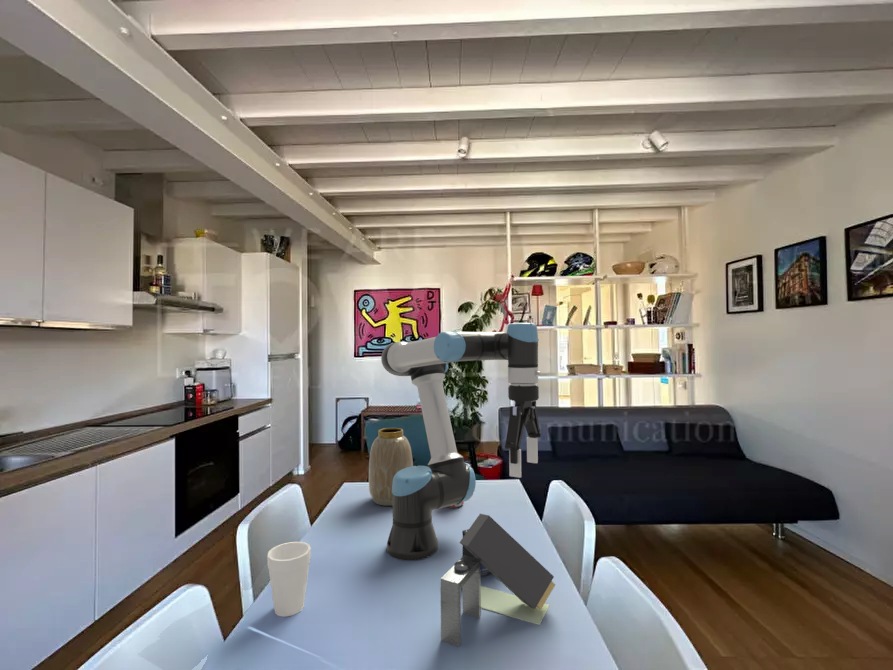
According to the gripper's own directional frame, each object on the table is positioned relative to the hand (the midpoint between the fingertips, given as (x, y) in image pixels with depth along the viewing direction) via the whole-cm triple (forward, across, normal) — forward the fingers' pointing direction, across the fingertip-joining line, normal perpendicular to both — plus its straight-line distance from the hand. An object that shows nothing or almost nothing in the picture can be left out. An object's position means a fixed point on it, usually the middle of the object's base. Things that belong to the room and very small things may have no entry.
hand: (524, 469), depth 109 cm
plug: (+20, -14, +2) cm, 25 cm away
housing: (+29, -22, +7) cm, 37 cm away
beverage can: (+29, +40, +41) cm, 64 cm away
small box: (+29, +2, +12) cm, 31 cm away
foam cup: (+29, -34, +45) cm, 63 cm away
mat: (+29, -10, +2) cm, 30 cm away
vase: (+29, +34, +65) cm, 79 cm away
